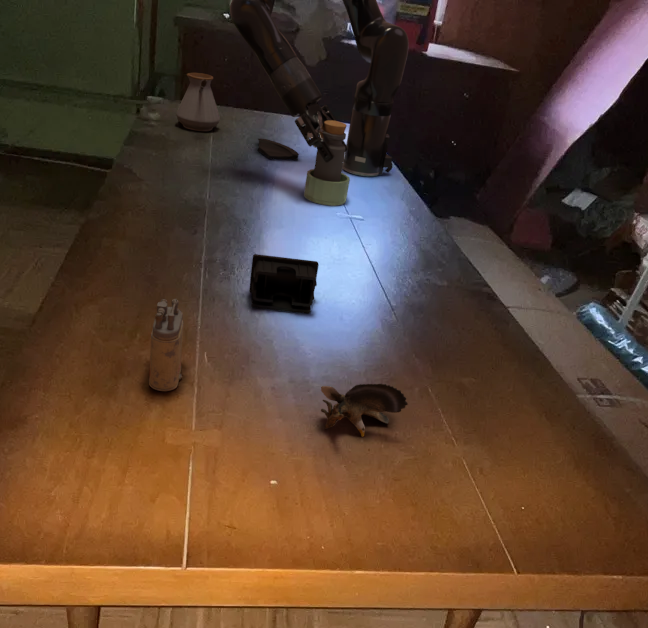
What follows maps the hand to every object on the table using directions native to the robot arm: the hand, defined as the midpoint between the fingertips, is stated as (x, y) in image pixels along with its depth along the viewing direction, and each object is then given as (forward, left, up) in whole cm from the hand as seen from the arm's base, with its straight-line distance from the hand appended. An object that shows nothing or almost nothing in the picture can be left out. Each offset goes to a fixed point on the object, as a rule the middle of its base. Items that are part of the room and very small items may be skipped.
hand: (337, 156), depth 154 cm
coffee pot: (+17, -49, -10) cm, 53 cm away
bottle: (+1, -1, -9) cm, 9 cm away
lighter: (+50, +65, -10) cm, 83 cm away
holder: (+1, -1, -9) cm, 10 cm away
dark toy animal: (+30, +79, -10) cm, 85 cm away
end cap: (+28, +46, -10) cm, 55 cm away
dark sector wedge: (+1, -33, -10) cm, 34 cm away
